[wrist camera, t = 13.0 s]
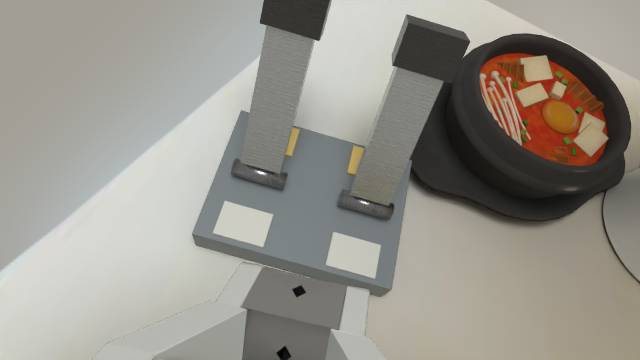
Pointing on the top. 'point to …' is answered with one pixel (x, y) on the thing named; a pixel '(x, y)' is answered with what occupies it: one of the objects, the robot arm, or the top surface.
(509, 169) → the casserole
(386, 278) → the switch unit
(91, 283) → the top surface
